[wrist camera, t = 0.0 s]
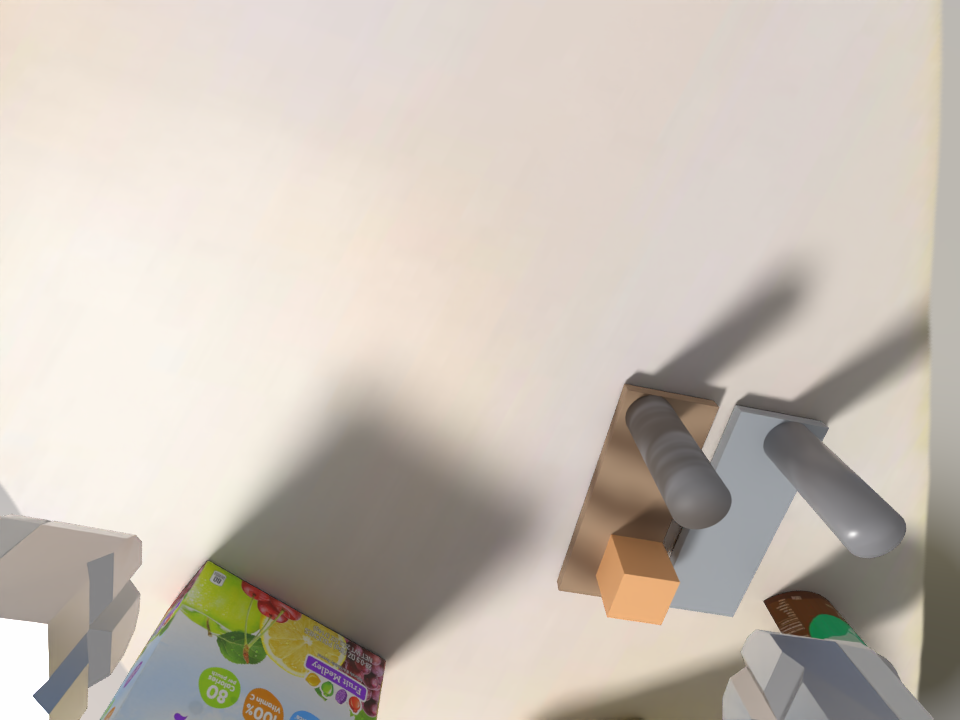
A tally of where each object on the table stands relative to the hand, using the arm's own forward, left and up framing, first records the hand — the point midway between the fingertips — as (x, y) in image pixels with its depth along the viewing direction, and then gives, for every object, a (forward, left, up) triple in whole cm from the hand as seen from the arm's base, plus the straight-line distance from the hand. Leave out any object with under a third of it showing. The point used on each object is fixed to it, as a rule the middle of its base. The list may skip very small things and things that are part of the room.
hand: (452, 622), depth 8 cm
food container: (+33, +43, -39) cm, 67 cm away
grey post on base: (+23, +30, -39) cm, 54 cm away
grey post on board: (+23, +20, -39) cm, 49 cm away
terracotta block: (+29, +21, -37) cm, 52 cm away
